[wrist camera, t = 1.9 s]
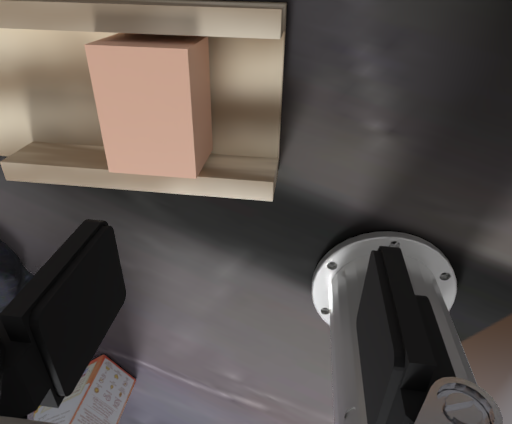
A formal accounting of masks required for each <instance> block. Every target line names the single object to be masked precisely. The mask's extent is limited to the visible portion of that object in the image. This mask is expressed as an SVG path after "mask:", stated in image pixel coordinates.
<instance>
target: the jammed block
mask: <svg viewBox="0 0 512 424" xmlns="http://www.w3.org/2000/svg"><path fill="white" fill-rule="evenodd" d="M84 46H85V51H86V57H87V62H88V67H89V72H90V77H91V82H92V87H93V93H94V98H95V103H96V108H97V113H98V118H99V123H100V129H101V134H102V139H103V144H104V149H105V154H106V159H107V165H108V170H109V172H112V173H125V174H139V175H152V176H165V177H178V178H192V179H196V178H197V177H198V175H199V173H200V171H201V170H202V168H203V166H204V164H205V162H206V161H207V159H208V157H209V155H210V154H211V152H212V150H213V141H212V117H211V93H210V68H209V44H208V36H185V35H160V34H134V33H118V34H115V35H112V36H109V37H106V38H103V39H100V40H97V41H94V42H91V43H88V44H85V45H84Z"/></svg>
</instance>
